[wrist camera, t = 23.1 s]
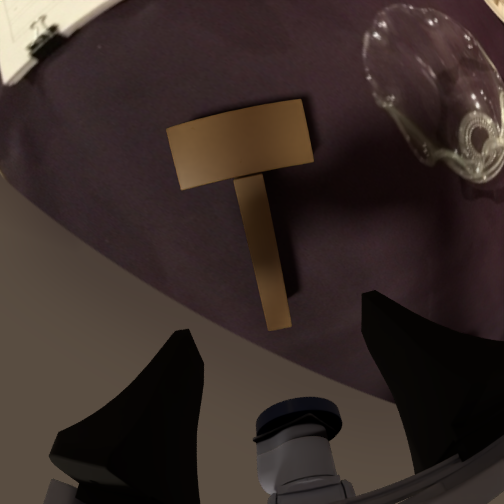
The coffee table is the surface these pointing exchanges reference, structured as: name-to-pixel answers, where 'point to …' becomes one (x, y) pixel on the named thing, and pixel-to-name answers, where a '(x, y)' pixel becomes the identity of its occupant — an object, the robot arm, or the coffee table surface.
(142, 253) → the coffee table surface
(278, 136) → the brown t-shaped piece
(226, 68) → the coffee table surface
